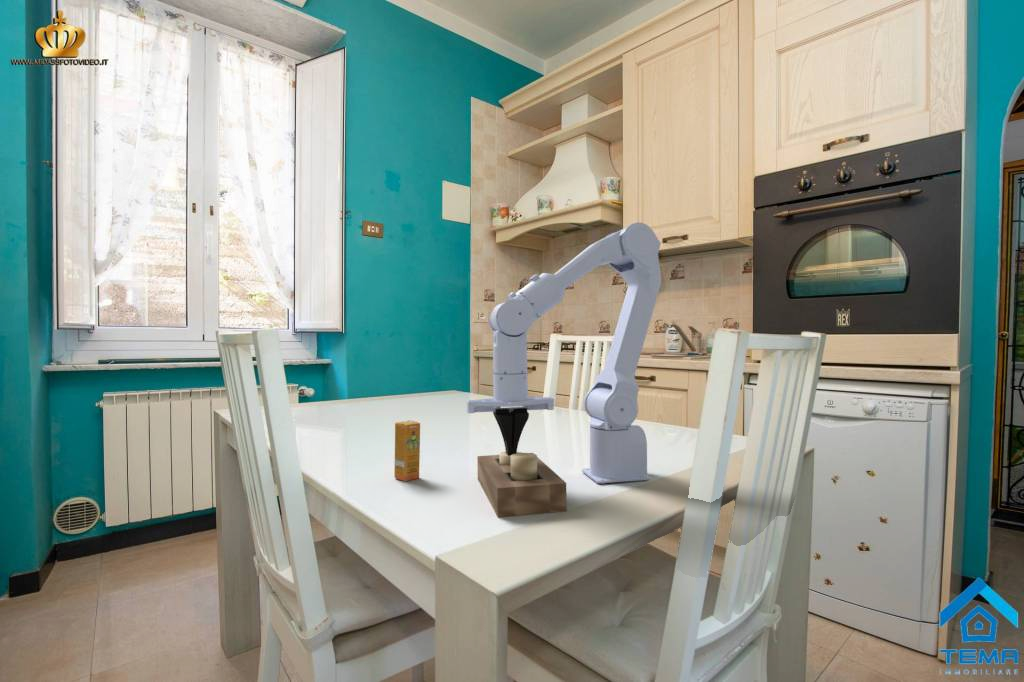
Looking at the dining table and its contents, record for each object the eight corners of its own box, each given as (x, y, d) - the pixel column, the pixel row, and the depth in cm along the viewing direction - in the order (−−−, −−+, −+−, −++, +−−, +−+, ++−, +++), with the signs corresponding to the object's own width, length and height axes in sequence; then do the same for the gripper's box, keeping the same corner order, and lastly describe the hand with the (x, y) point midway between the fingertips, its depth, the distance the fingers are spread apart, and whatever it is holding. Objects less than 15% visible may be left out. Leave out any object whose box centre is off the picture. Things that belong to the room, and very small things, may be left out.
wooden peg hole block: (532, 474, 90) (532, 452, 90) (566, 510, 71) (566, 482, 71) (477, 478, 88) (477, 456, 88) (497, 517, 69) (497, 488, 69)
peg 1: (520, 473, 86) (520, 450, 86) (525, 479, 82) (525, 456, 82) (497, 474, 85) (497, 452, 85) (502, 481, 82) (501, 457, 82)
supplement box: (406, 482, 86) (405, 424, 86) (393, 478, 89) (393, 422, 88) (421, 477, 89) (420, 421, 89) (409, 474, 91) (408, 419, 91)
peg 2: (533, 477, 78) (533, 452, 77) (540, 484, 74) (540, 458, 74) (508, 479, 77) (508, 453, 77) (513, 486, 73) (513, 460, 73)
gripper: (470, 376, 78) (471, 462, 78) (559, 373, 81) (559, 457, 82) (464, 372, 85) (465, 452, 85) (546, 370, 88) (547, 447, 88)
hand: (511, 454), depth 84 cm, fingers closed, pressing on peg 1
